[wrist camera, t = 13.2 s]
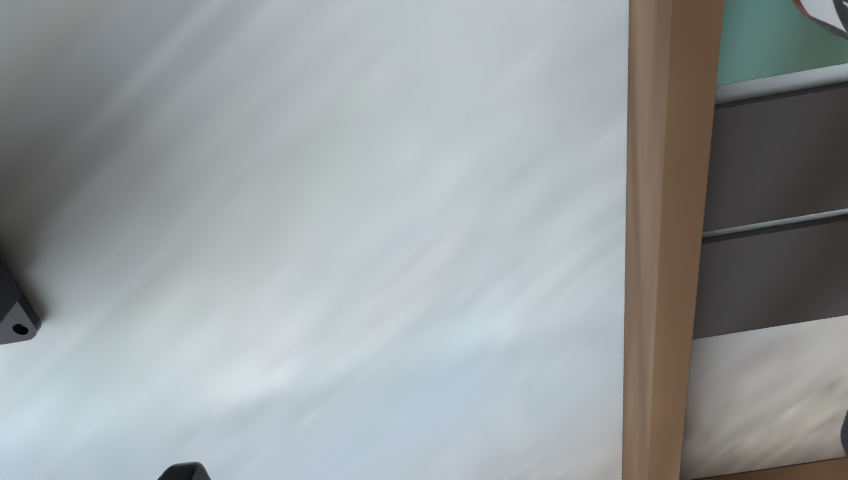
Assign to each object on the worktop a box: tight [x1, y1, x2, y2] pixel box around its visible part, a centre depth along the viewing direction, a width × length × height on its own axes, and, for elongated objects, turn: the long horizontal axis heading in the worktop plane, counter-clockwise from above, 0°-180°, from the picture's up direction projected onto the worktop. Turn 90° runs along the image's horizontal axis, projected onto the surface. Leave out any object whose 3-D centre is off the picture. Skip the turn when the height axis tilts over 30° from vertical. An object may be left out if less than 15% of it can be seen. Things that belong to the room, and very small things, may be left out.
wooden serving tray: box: [622, 0, 848, 480], centre depth 21 cm, size 13×30×3 cm, turn 9°
